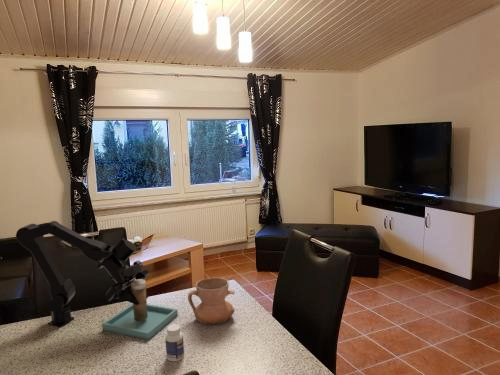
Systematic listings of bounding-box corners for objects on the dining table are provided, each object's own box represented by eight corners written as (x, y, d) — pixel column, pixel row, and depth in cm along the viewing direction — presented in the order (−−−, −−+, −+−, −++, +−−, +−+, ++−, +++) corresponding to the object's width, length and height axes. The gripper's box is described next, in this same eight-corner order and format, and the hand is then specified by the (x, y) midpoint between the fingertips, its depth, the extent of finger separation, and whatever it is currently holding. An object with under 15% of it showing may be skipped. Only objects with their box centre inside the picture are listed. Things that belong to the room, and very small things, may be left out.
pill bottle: (180, 362, 108) (178, 332, 107) (163, 361, 109) (161, 331, 108) (186, 352, 113) (185, 323, 112) (171, 351, 115) (169, 322, 113)
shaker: (131, 319, 131) (128, 283, 129) (139, 313, 136) (137, 278, 134) (142, 322, 130) (139, 285, 128) (150, 315, 134) (148, 280, 132)
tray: (102, 330, 128) (101, 323, 128) (135, 307, 145) (135, 302, 145) (148, 340, 121) (148, 333, 121) (177, 315, 138) (177, 309, 137)
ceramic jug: (239, 310, 140) (237, 275, 138) (232, 329, 126) (230, 291, 124) (195, 309, 143) (193, 275, 141) (183, 328, 129) (180, 290, 127)
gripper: (108, 264, 122) (137, 299, 120) (143, 248, 140) (169, 278, 137) (93, 283, 126) (120, 318, 124) (129, 266, 144) (153, 295, 141)
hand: (142, 301), depth 131 cm, fingers closed on shaker, 5 cm apart
